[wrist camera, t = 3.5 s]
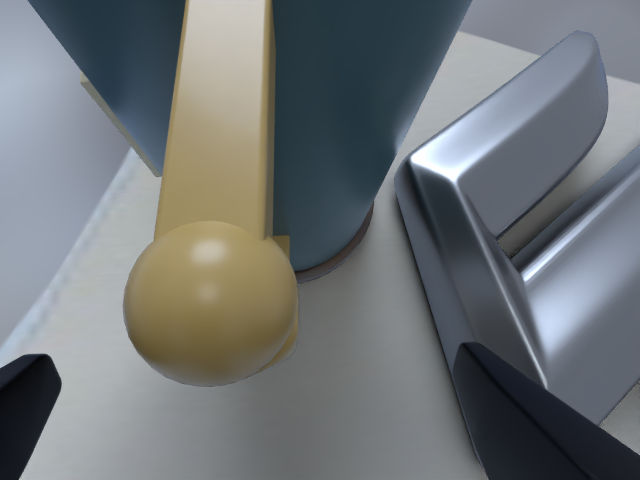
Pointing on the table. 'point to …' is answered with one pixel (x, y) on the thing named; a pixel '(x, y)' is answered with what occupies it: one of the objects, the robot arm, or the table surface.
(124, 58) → the teal coffee mug
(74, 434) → the table surface
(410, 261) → the table surface
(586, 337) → the emblem
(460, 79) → the table surface
